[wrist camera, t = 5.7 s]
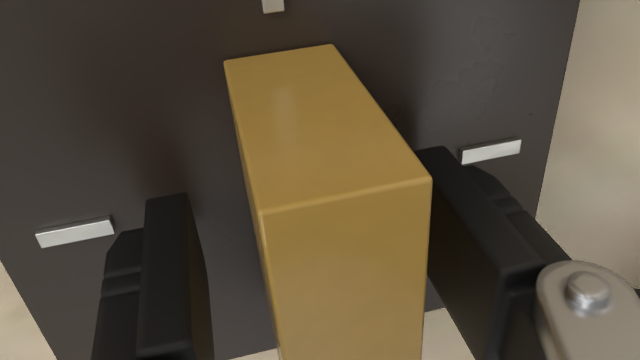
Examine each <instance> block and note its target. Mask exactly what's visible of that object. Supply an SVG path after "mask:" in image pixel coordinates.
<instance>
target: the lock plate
mask: <svg viewBox="0 0 640 360" xmlns="http://www.w3.org/2000/svg"><path fill="white" fill-rule="evenodd" d="M579 3H580V0H0V260H1V262H2V264H3V266H4V267H5V269H6V271H7V273H8V274H9V276H10V278H11V280H12V281H13V283H14V285H15V287H16V288H17V290H18V292H19V294H20V295H21V297H22V299H23V301H24V302H25V304H26V306H27V308H28V309H29V311H30V313H31V315H32V316H33V318H34V320H35V322H36V323H37V325H38V327H39V328H40V330H41V332H42V334H43V335H44V337H45V339H46V341H47V342H48V344H49V346H50V348H51V349H52V351H53V353H54V355H55V356H56V358H57V360H91V355H92V348H93V341H94V335H95V328H96V321H97V314H98V308H99V301H100V299H101V287H102V280H104V276H103V274H104V267H105V260H106V253H107V252H108V250H109V249H110V247H111V246H112V244H113V243H114V242H115V240H116V239H117V237H118V236H119V234H120V233H121V232H122V231H128V230H133V229H138V228H143V227H144V217H145V203H146V200H147V199H151V198H156V197H162V196H167V195H172V194H178V193H183V192H187V194H188V197H189V200H190V204H191V208H192V212H193V216H194V219H195V223H196V227H197V231H198V235H199V239H200V243H201V247H202V251H203V255H204V259H205V264H206V270H207V276H208V284H209V296H210V307H211V319H212V331H213V343H214V355H215V360H229V359H233V358H237V357H242V356H246V355H250V354H254V353H258V352H262V351H266V350H271V349H275V348H276V343H275V338H274V333H273V328H272V323H271V318H270V313H269V308H268V304H267V299H266V293H265V288H264V282H263V277H262V272H261V266H260V261H259V255H258V250H257V245H256V239H255V234H254V228H253V223H252V218H251V212H250V207H249V201H248V196H247V190H246V185H245V180H244V174H243V169H242V163H241V158H240V153H239V147H238V142H237V136H236V131H235V126H234V120H233V115H232V109H231V104H230V99H229V93H228V88H227V82H226V77H225V71H224V66H223V63H224V61H225V60H229V59H236V58H243V57H249V56H256V55H262V54H269V53H275V52H282V51H288V50H295V49H301V48H308V47H314V46H321V45H327V44H333V45H334V46H335V47H336V49H337V50H338V51H339V53H340V54H341V56H342V57H343V58H344V60H345V61H346V62H347V64H348V65H349V66H350V68H351V69H352V70H353V72H354V73H355V74H356V76H357V77H358V78H359V80H360V81H361V82H362V84H363V85H364V86H365V88H366V89H367V90H368V92H369V93H370V94H371V96H372V97H373V98H374V100H375V101H376V102H377V104H378V105H379V106H380V108H381V109H382V111H383V112H384V113H385V115H386V116H387V117H388V119H389V120H390V121H391V123H392V124H393V125H394V127H395V128H396V129H397V131H398V132H399V133H400V135H401V136H402V137H403V139H404V140H405V141H406V143H407V144H408V145H409V147H410V148H411V149H412V151H414V150H420V149H425V148H431V147H436V146H441V145H442V146H445V147H446V148H447V149H448V150H449V151H450V152H451V153H452V154H453V156H454V157H455V158H456V159H457V160H458V161H459V163H460V164H461V165H462V166H463V167H464V166H469V165H474V166H476V167H478V168H480V169H482V170H483V171H485V172H487V173H489V174H491V175H493V176H495V177H496V178H497V179H498V180H499V181H500V182H501V184H502V185H503V186H504V187H505V188H506V189H507V190H508V191H509V192H510V195H511V197H513V196H514V198H515V199H516V200H517V201H518V202H519V203H520V204H521V205H522V206H523V210H526V211H527V212H528V213H529V214H530V215H531V216H532V217H533V218H534V219H535V216H536V211H537V206H538V201H539V197H540V192H541V187H542V182H543V177H544V172H545V167H546V163H547V158H548V153H549V148H550V143H551V138H552V134H553V129H554V124H555V119H556V114H557V109H558V104H559V100H560V95H561V90H562V85H563V80H564V75H565V71H566V66H567V61H568V56H569V51H570V46H571V41H572V37H573V32H574V27H575V22H576V17H577V12H578V8H579ZM441 308H445V305H444V304H443V302H442V300H441V298H440V297H439V295H438V293H437V291H436V290H435V288H434V286H433V284H432V283H431V281H430V279H429V277H428V276H427V278H426V294H425V309H424V312H428V311H432V310H436V309H441Z"/></svg>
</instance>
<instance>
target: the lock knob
mask: <svg viewBox="0 0 640 360" xmlns="http://www.w3.org/2000/svg"><path fill="white" fill-rule="evenodd" d="M223 66H224V71H225V77H226V82H227V88H228V93H229V99H230V104H231V109H232V115H233V120H234V126H235V131H236V136H237V142H238V147H239V153H240V158H241V163H242V169H243V174H244V180H245V185H246V190H247V196H248V201H249V207H250V212H251V218H252V223H253V228H254V234H255V239H256V245H257V250H258V255H259V261H260V266H261V272H262V277H263V282H264V288H265V293H266V299H267V304H268V308H269V313H270V318H271V323H272V328H273V333H274V338H275V343H276V348H277V353H278V357H279V360H421V356H422V341H423V325H424V309H425V294H426V278H427V262H428V247H429V231H430V216H431V200H432V184H433V179H432V177H431V175H430V174H429V172H428V171H427V170H426V168H425V167H424V166H423V164H422V163H421V161H420V160H419V159H418V157H417V156H416V155H415V153H414V152H413V151H412V149H411V148H410V147H409V145H408V144H407V143H406V141H405V140H404V139H403V137H402V136H401V135H400V133H399V132H398V131H397V129H396V128H395V127H394V125H393V124H392V123H391V121H390V120H389V119H388V117H387V116H386V115H385V113H384V112H383V111H382V109H381V108H380V106H379V105H378V104H377V102H376V101H375V100H374V98H373V97H372V96H371V94H370V93H369V92H368V90H367V89H366V88H365V86H364V85H363V84H362V82H361V81H360V80H359V78H358V77H357V76H356V74H355V73H354V72H353V70H352V69H351V68H350V66H349V65H348V64H347V62H346V61H345V60H344V58H343V57H342V56H341V54H340V53H339V51H338V50H337V49H336V47H335V46H334V45H333V44H327V45H321V46H314V47H308V48H301V49H295V50H288V51H282V52H275V53H269V54H262V55H256V56H249V57H243V58H236V59H229V60H225V61H224V63H223Z"/></svg>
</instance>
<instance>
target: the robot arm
mask: <svg viewBox="0 0 640 360" xmlns="http://www.w3.org/2000/svg"><path fill="white" fill-rule="evenodd" d="M413 152H414V153H415V155H416V156H417V157H418V159H419V160H420V161H421V163H422V164H423V166H424V167H425V168H426V170H427V171H428V172H429V174H430V175H431V177H432V179H433V184H432V200H431V216H430V231H429V247H428V262H427V276H428V277H429V279H430V281H431V283H432V284H433V286H434V288H435V290H436V291H437V293H438V295H439V297H440V298H441V300H442V302H443V304H444V305H445V307H446V309H447V311H448V312H449V314H450V316H451V318H452V319H453V321H454V323H455V325H456V326H457V328H458V330H459V332H460V333H461V335H462V337H463V339H464V340H465V342H466V344H467V346H468V347H469V349H470V351H471V353H472V354H473V356H474V358H475V360H640V289H634V288H632V287H631V286H630V285H629V284H628V283H627V281H625V280H624V279H623V278H622V277H620V276H619V275H617V274H616V273H614V272H613V271H611V270H609V269H607V268H605V267H602V266H599V265H597V264H593V263H589V262H584V261H575V260H572V259H571V258H570V257H569V256H568V255H567V254H566V253H565V252H564V250H563V249H562V248H561V247H560V246H559V245H558V244H557V243H556V242H555V241H554V240H553V239H552V238H551V236H550V235H549V234H548V233H547V232H546V231H545V230H544V229H543V228H542V227H541V226H540V225H539V223H538V222H537V221H536V220H535V219H534V218H533V217H532V216H531V215H530V214H529V213H528V212H527V211H526V210H523V206H522V205H521V204H520V203H519V202H518V201H517V200H516V199H515V198H514V196H513V197H511V195H510V192H509V191H508V190H507V189H506V188H505V187H504V186H503V185H502V184H501V182H500V181H499V180H498V179H497V178H496V177H495V176H493V175H491V174H489V173H487V172H485V171H483V170H482V169H480V168H478V167H476V166H474V165H469V166H464V167H463V166H462V165H461V164H460V163H459V161H458V160H457V159H456V158H455V157H454V156H453V154H452V153H451V152H450V151H449V150H448V149H447V148H446V147H445V146H442V145H441V146H436V147H431V148H425V149H420V150H414V151H413ZM103 276H104V280H102V287H101V299H100V301H99V308H98V314H97V321H96V328H95V335H94V341H93V348H92V355H91V360H215V355H214V343H213V331H212V319H211V307H210V296H209V284H208V276H207V270H206V264H205V259H204V255H203V251H202V247H201V243H200V239H199V235H198V231H197V227H196V223H195V219H194V216H193V212H192V208H191V204H190V200H189V197H188V194H187V192H183V193H178V194H172V195H167V196H162V197H156V198H151V199H147V200H146V203H145V217H144V227H143V228H138V229H133V230H128V231H122V232H121V233H120V234H119V236H118V237H117V239H116V240H115V242H114V243H113V244H112V246H111V247H110V249H109V250H108V252H107V253H106V260H105V267H104V274H103Z"/></svg>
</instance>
